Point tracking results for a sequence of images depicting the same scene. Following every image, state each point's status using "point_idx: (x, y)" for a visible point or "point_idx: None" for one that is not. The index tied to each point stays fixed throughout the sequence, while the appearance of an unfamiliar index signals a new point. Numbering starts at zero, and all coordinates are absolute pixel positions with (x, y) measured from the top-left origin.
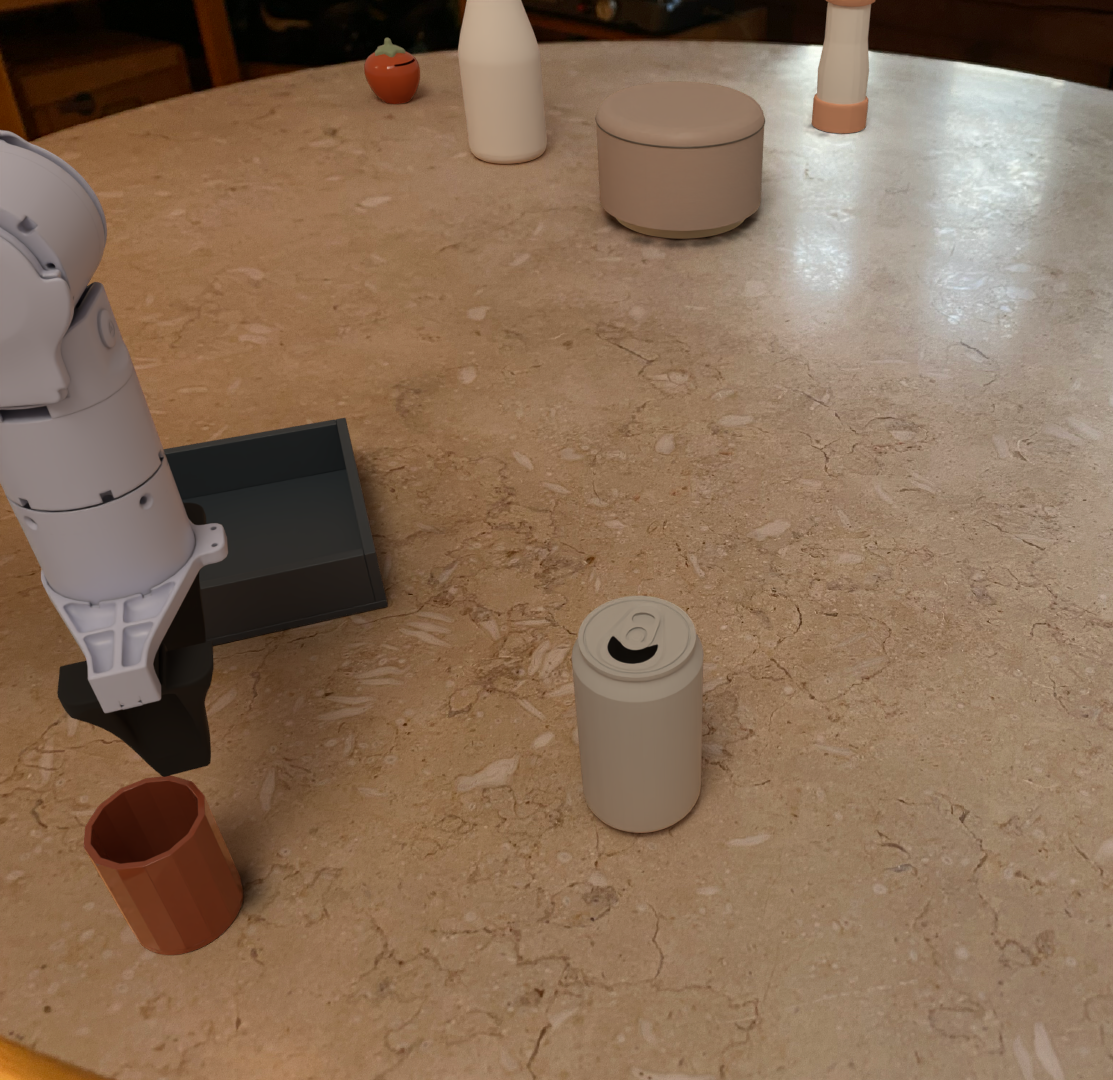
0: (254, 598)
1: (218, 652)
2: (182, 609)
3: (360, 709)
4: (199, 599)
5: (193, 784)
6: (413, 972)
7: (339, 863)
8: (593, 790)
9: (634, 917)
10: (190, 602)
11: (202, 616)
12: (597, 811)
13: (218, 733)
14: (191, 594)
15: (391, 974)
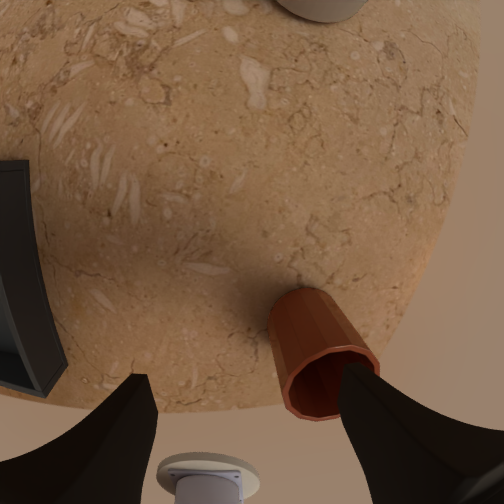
0: (16, 277)
1: (54, 299)
2: (126, 435)
3: (134, 185)
4: (113, 424)
5: (308, 357)
6: (408, 179)
7: (305, 216)
8: (349, 8)
9: (407, 41)
10: (118, 432)
11: (126, 405)
12: (343, 18)
13: (135, 304)
14: (111, 440)
15: (404, 193)
